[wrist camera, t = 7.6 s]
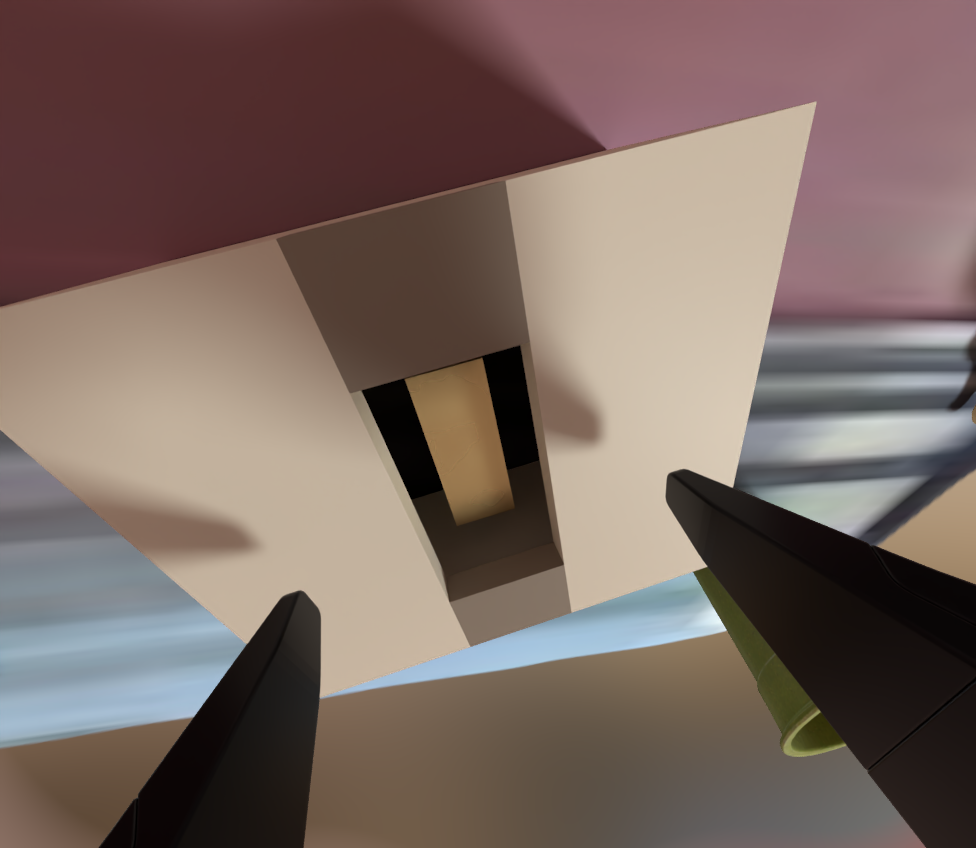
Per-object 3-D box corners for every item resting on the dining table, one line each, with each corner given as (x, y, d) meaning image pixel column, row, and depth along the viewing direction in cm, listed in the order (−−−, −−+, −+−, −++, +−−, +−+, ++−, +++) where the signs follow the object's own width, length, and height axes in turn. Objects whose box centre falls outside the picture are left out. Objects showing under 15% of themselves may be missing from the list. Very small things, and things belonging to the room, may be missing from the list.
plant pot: (830, 484, 28) (1055, 631, 18) (736, 587, 33) (872, 743, 23) (715, 464, 24) (925, 638, 14) (628, 585, 29) (741, 771, 20)
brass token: (453, 305, 15) (482, 358, 10) (482, 424, 19) (515, 508, 14) (401, 319, 15) (404, 379, 10) (440, 436, 18) (456, 526, 13)
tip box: (607, 149, 13) (816, 101, 7) (614, 448, 21) (716, 563, 14) (163, 262, 12) (-107, 336, 6) (339, 533, 20) (311, 700, 13)
